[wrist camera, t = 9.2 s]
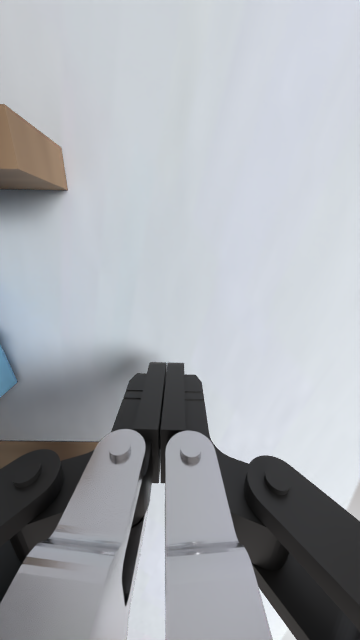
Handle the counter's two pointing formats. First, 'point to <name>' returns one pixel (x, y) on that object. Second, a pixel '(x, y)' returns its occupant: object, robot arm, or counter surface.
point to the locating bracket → (38, 174)
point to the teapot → (5, 374)
